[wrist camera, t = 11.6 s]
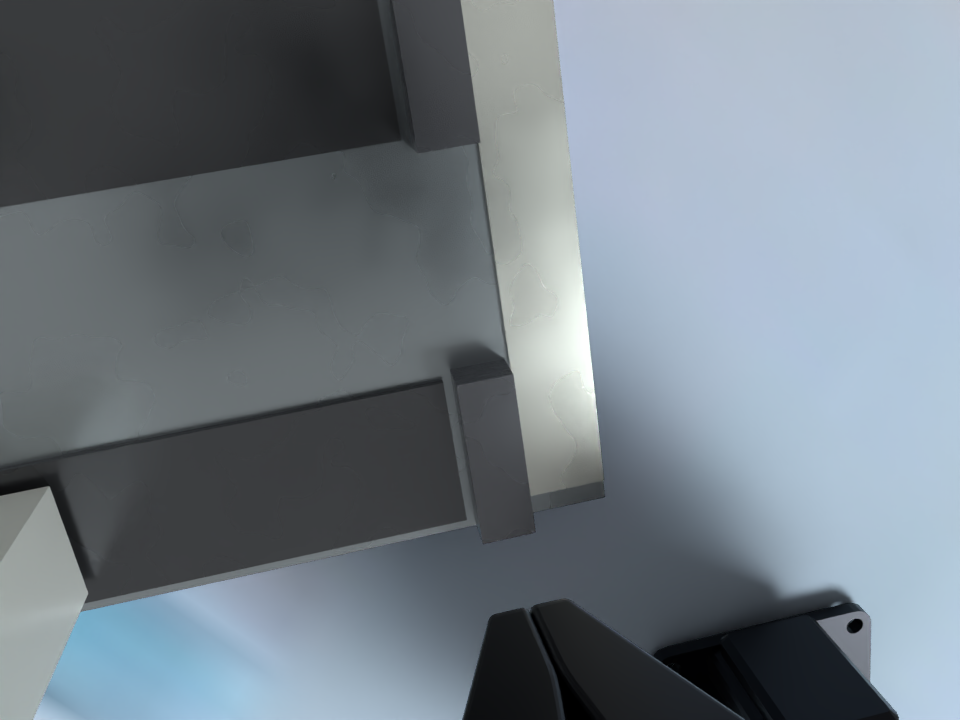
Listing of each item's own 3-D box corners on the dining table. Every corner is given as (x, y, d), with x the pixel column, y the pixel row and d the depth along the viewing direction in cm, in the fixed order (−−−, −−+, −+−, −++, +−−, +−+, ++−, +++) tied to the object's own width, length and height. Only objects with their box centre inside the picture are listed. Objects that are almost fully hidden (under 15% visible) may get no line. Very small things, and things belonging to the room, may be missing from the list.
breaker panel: (581, 460, 22) (618, 518, 19) (-207, 628, 20) (-292, 720, 17) (455, -624, 15) (485, -783, 12) (-807, -538, 13) (-1123, -705, 10)
